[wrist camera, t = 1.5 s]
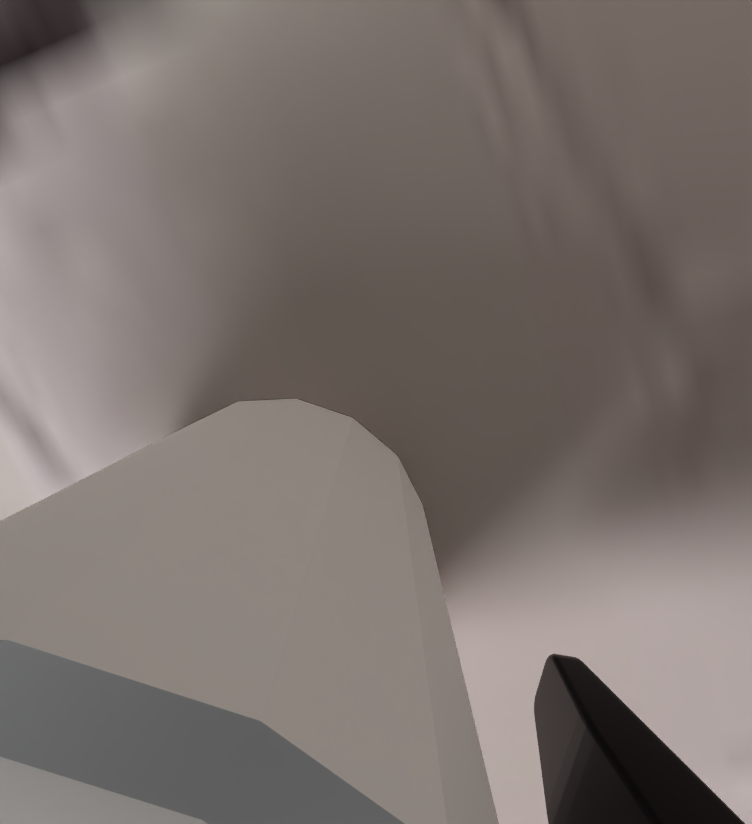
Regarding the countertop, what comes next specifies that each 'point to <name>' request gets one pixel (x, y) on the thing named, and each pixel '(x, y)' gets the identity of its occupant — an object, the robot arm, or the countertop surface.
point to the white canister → (234, 638)
